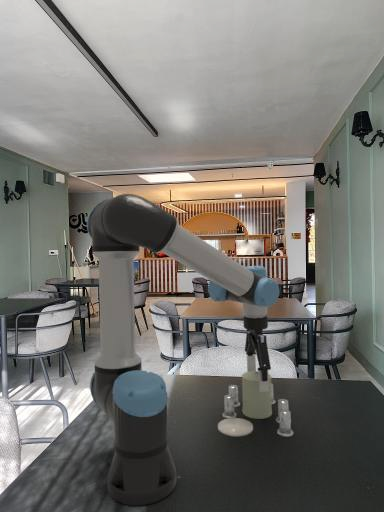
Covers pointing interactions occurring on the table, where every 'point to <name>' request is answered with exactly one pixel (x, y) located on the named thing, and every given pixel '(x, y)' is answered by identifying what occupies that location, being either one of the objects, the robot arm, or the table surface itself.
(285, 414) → the posts
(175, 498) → the table surface
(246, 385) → the can
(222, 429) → the beige flat disc
